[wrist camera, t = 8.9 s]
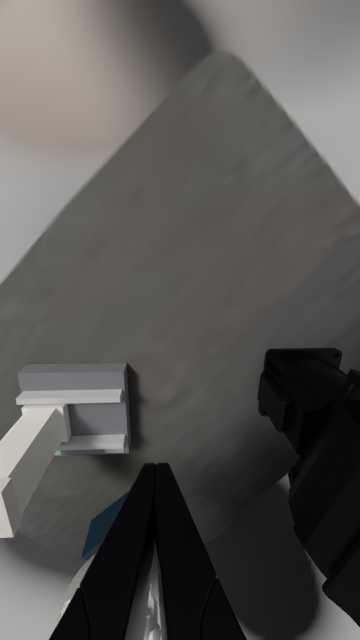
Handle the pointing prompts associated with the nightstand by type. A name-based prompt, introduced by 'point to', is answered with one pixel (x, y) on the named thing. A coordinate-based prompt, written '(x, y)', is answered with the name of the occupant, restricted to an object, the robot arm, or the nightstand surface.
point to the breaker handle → (28, 458)
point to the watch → (92, 544)
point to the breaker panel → (83, 403)
